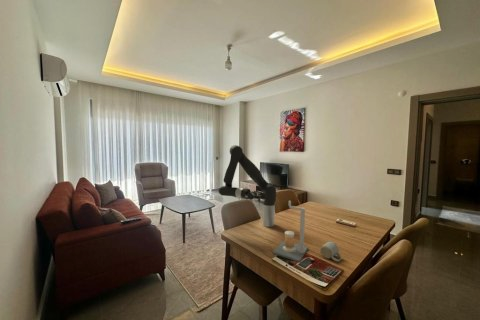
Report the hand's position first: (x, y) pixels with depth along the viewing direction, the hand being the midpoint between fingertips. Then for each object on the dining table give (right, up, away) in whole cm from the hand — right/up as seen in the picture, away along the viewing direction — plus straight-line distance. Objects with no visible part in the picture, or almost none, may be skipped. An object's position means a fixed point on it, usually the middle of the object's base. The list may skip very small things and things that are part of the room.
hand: (263, 196), depth 137 cm
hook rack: (+15, -31, -14) cm, 38 cm away
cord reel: (+14, -30, -14) cm, 36 cm away
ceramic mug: (+37, -32, -20) cm, 53 cm away
